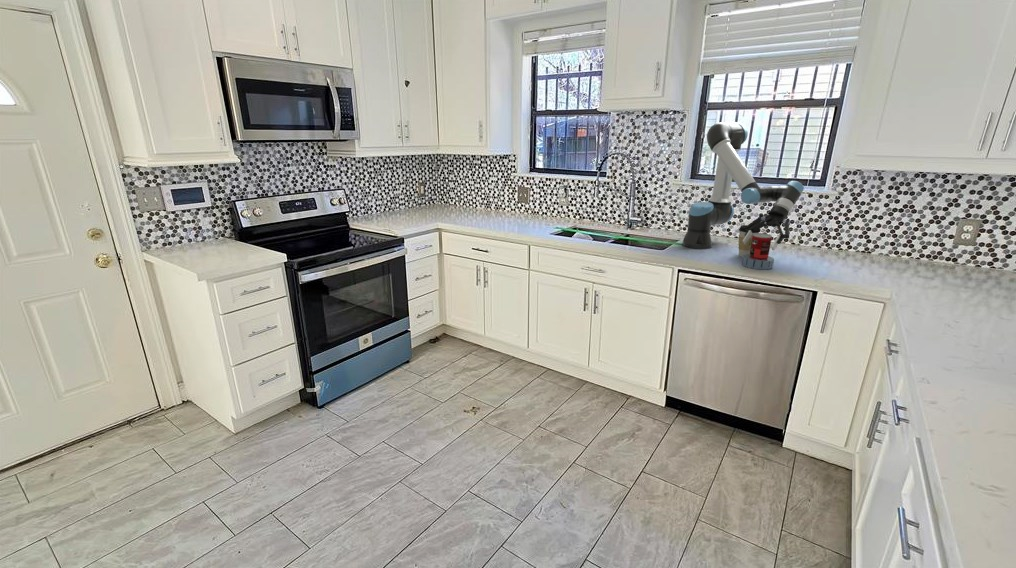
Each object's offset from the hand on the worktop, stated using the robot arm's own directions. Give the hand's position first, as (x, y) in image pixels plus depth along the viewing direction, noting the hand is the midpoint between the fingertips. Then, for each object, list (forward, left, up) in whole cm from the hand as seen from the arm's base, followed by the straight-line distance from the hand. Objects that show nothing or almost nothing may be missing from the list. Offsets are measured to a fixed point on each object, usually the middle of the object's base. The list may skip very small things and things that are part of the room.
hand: (757, 245), depth 217 cm
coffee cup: (-13, +14, -10) cm, 22 cm away
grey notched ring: (0, +2, -10) cm, 10 cm away
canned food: (0, +2, -6) cm, 7 cm away
